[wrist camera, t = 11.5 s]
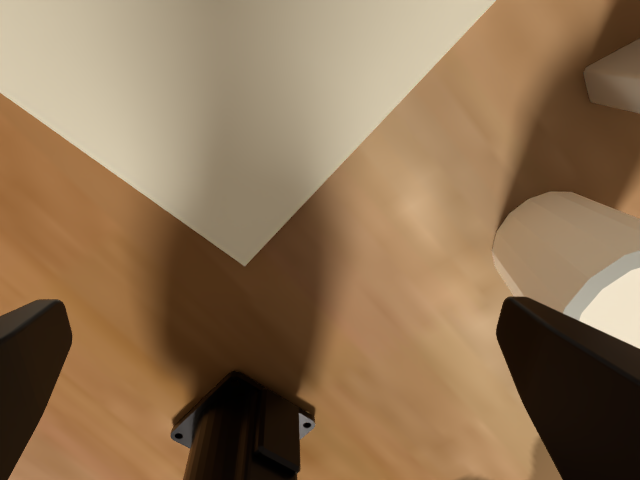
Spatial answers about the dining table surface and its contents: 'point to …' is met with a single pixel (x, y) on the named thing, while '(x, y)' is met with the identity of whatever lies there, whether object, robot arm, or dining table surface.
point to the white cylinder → (574, 260)
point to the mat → (222, 93)
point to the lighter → (616, 79)
